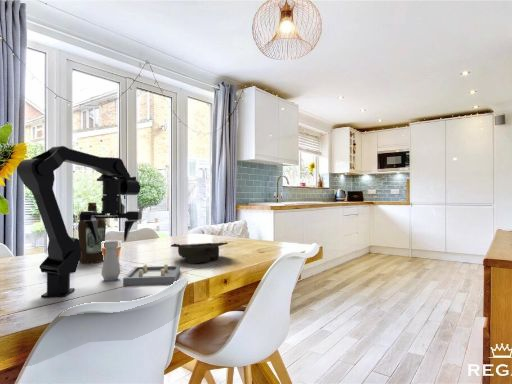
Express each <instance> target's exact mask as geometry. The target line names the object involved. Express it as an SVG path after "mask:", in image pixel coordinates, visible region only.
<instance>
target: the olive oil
mask: <svg viewBox="0 0 512 384" xmlns="http://www.w3.org/2000/svg"><path fill="white" fill-rule="evenodd" d="M87 211H97V202H88V203H87ZM96 220H98V225H97V226H98V241H95V239H94V237H93V234H92V232H91V230H90V228H89V227H88V225H87V224H86V223H83V221H84V220H79V221H78V224H77V233H78V234H77V235H78V240H79V244H80V247H81V249H82V250H83V251H81V255H82V256H81V258H80V261H79V263H80V264H85V265H86V264H89V265H90V264H97V263H101V262H104V261H103V255H102V251H101V242H102V241H105V242H106V229H107V227H106V226H107V223H106V220H105V218H96Z"/></svg>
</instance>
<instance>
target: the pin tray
mask: <svg viewBox="0 0 512 384" xmlns="http://www.w3.org/2000/svg"><path fill="white" fill-rule="evenodd" d="M180 272H181V266H180V265H168V263H166V264H165V263H164V265H161V266H160V265H159V266H156V265H155V266H154V265H152V266H148V264H143V266H135V267H134V268H132V269H131V270H130V271H129V272H128V273H127V274H126V275H125V276H124V277H123V278H122V286H132V285H133V286H140V285H141V286H142V285H168V284H169V285H172V283H173V282H174V281H176V282H177V280H178V277H179V275H180Z"/></svg>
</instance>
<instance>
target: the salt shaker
mask: <svg viewBox="0 0 512 384" xmlns="http://www.w3.org/2000/svg"><path fill="white" fill-rule="evenodd" d="M118 246H119V242H118V241H117V240H107V241H106V240H105V243H104V247H105V252H104V261H103V264H102V269H101V276H102V278H103V280H104V281H107V282H111V281H116V280H118V279H119V277H120V274H121V268H120V262H119V258H118V251H117V248H118Z"/></svg>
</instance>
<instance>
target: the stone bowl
mask: <svg viewBox="0 0 512 384" xmlns="http://www.w3.org/2000/svg"><path fill="white" fill-rule="evenodd" d="M228 244H229V242H203V243H199V242H198V243H184V244H183V243H182V244H180V243H173V244H171V245H170V248H171V247H173V248H177V252H178V253H177V254H178V255H179V256H180V257H181V258H184V259H186V263H188V264H189V263H190V265H191V264H194V265H196V263H197V264H201V263H202V262H203V263H204V262H205V263H207V262H209V261H210V260H212V261H216V260H219V257H220V247H221V246H224V245H228Z"/></svg>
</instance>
